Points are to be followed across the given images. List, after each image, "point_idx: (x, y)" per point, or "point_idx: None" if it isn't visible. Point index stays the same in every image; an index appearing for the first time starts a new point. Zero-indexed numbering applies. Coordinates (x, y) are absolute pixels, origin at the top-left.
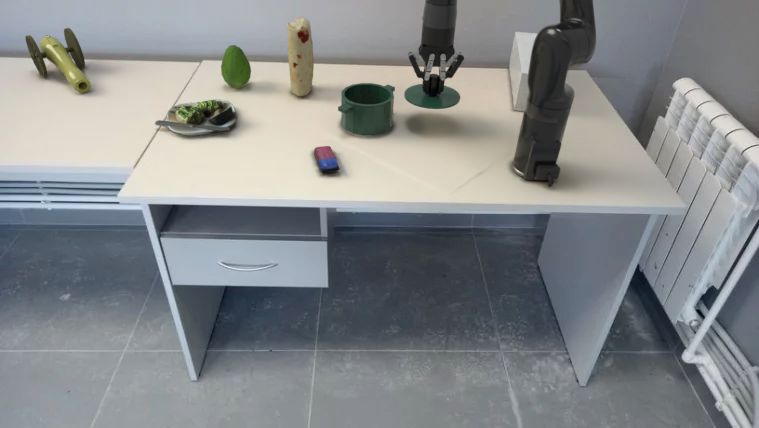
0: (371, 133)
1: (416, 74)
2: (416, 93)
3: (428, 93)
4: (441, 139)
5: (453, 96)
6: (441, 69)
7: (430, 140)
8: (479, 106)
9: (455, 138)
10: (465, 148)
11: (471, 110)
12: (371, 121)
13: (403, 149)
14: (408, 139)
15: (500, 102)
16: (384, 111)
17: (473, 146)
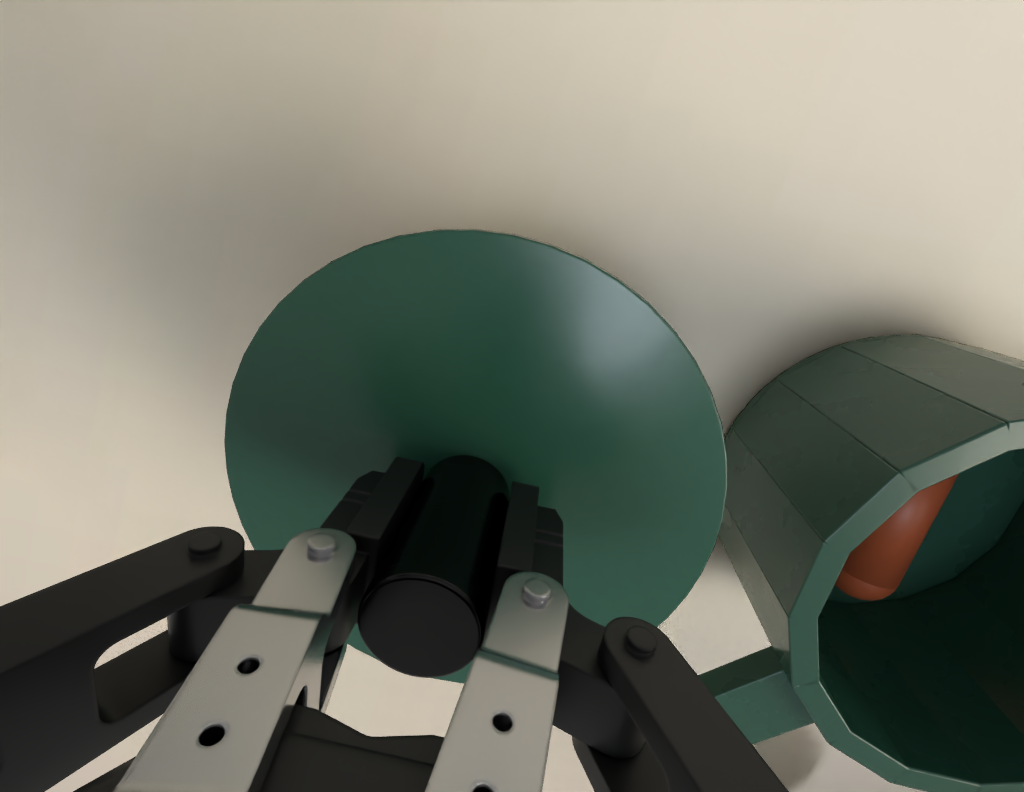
0: (936, 339)
1: (687, 668)
2: (596, 547)
3: (513, 481)
4: (480, 218)
5: (286, 424)
6: (297, 636)
7: (554, 220)
8: (163, 533)
9: (389, 213)
10: (362, 66)
11: (214, 504)
12: (1011, 363)
13: (778, 135)
14: (689, 261)
15: (46, 546)
16: (936, 399)
17: (303, 83)
